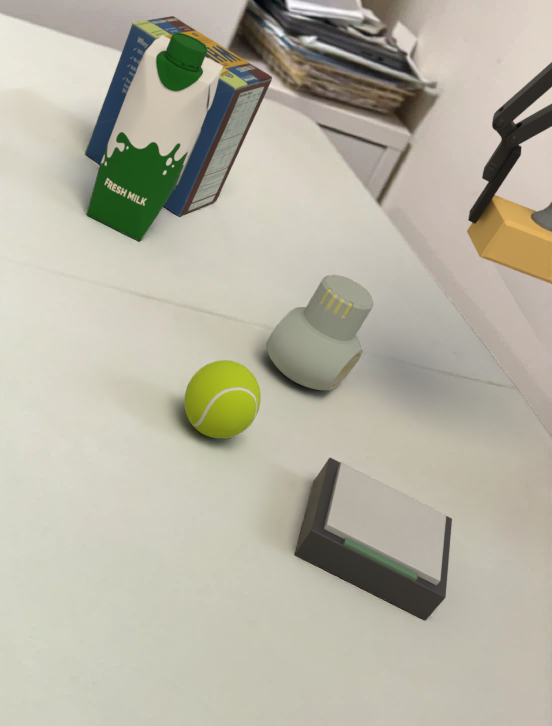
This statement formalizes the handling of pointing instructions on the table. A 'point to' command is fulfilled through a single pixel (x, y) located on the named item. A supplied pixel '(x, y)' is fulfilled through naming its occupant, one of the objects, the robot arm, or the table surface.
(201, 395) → the tennis ball
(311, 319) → the air freshener
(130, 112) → the milk carton
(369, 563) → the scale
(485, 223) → the rubber stamp
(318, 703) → the table surface
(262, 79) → the protein box
